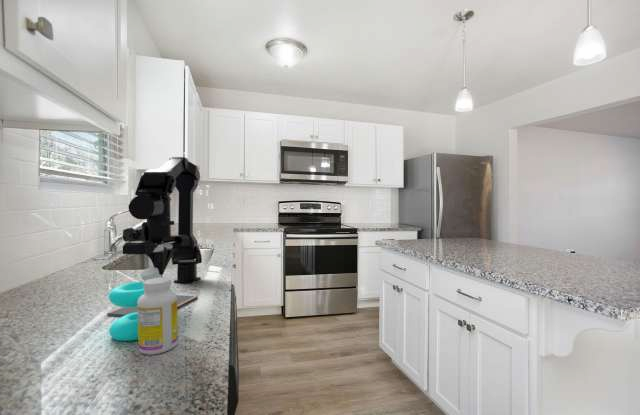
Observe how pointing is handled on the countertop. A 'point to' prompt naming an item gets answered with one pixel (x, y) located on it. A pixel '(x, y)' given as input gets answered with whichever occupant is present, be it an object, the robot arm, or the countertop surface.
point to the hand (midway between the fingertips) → (160, 275)
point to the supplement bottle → (157, 317)
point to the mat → (124, 311)
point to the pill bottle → (150, 274)
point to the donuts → (128, 324)
